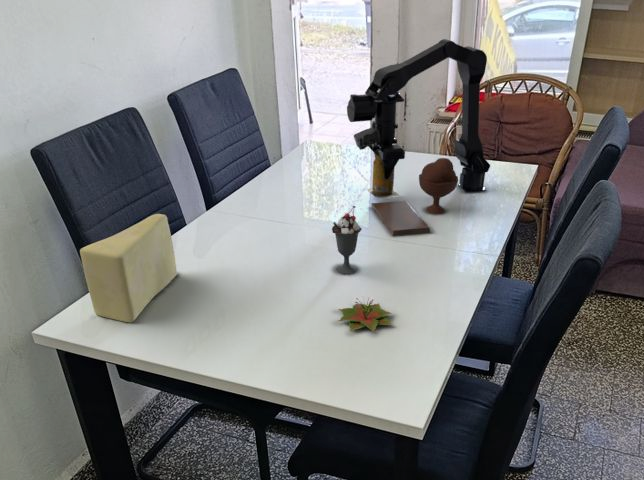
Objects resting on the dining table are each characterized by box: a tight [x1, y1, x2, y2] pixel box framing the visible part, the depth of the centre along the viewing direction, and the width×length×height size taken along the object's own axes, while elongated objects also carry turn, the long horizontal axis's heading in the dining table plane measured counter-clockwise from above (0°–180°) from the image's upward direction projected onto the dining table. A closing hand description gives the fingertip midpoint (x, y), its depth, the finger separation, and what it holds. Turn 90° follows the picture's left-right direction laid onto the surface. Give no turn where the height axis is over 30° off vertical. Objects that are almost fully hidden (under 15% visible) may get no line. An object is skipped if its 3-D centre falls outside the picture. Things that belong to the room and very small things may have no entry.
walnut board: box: [371, 200, 431, 237], centre depth 176 cm, size 10×20×2 cm, turn 15°
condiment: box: [365, 149, 401, 200], centre depth 184 cm, size 7×8×12 cm
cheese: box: [79, 213, 178, 323], centre depth 134 cm, size 22×10×15 cm, turn 159°
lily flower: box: [337, 295, 394, 333], centre depth 130 cm, size 12×12×5 cm
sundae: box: [331, 205, 363, 275], centre depth 147 cm, size 7×7×15 cm
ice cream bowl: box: [418, 157, 459, 215], centre depth 179 cm, size 11×11×15 cm
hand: (383, 175), depth 185 cm, fingers closed on condiment, 6 cm apart
